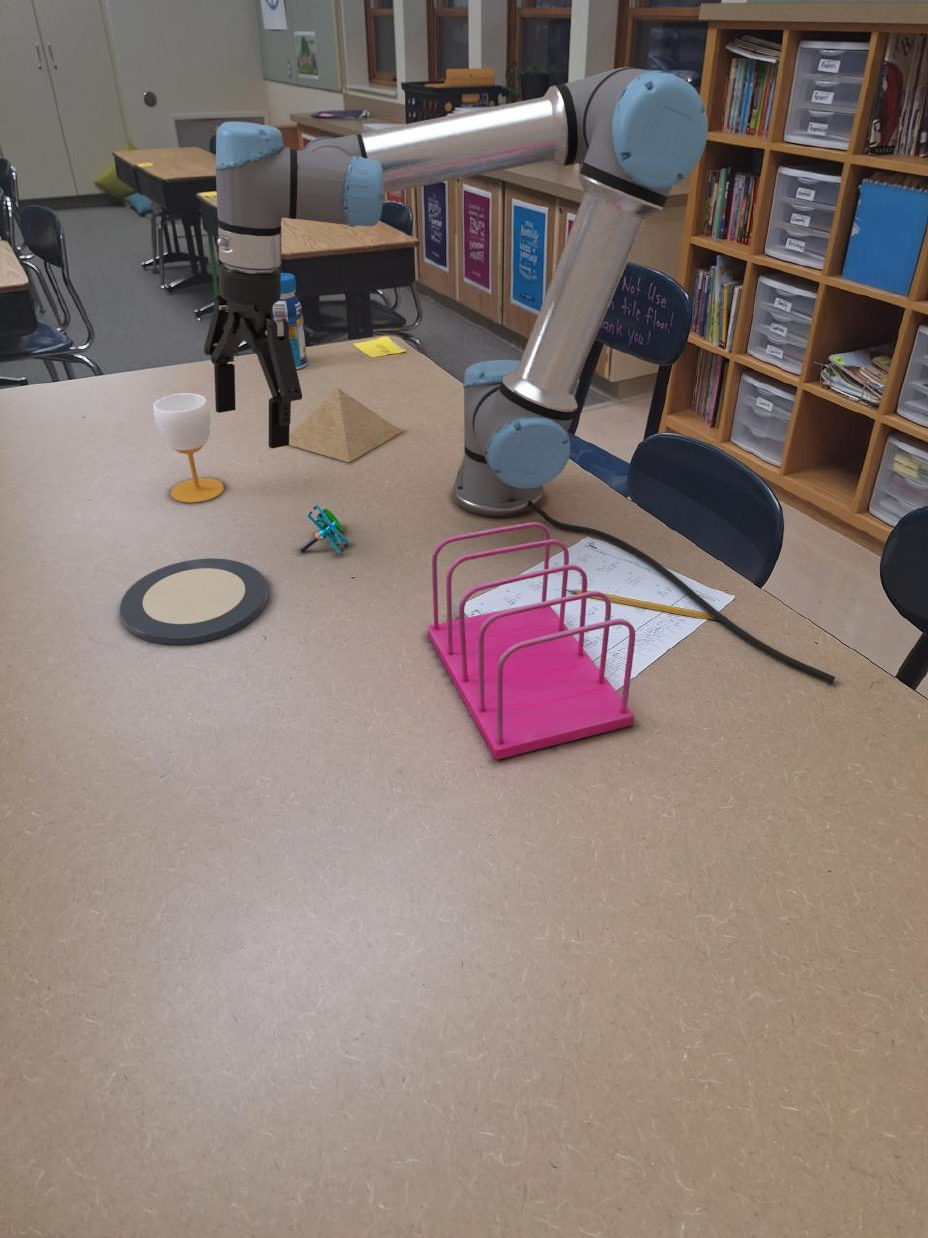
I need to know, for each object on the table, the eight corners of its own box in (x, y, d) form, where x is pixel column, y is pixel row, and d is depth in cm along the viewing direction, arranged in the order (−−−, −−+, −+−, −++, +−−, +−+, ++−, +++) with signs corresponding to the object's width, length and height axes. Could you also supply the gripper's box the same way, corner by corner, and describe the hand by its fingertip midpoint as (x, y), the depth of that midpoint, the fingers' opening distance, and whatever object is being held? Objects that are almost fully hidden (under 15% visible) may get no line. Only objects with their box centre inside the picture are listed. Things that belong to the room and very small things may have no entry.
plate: (296, 586, 125) (295, 579, 124) (199, 662, 111) (198, 654, 110) (193, 552, 133) (191, 545, 132) (90, 618, 119) (88, 611, 118)
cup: (159, 497, 148) (139, 408, 138) (192, 475, 154) (174, 389, 145) (203, 506, 145) (185, 416, 136) (234, 484, 152) (219, 396, 142)
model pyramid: (404, 430, 170) (402, 381, 165) (349, 462, 159) (344, 411, 153) (338, 413, 178) (334, 366, 172) (281, 443, 166) (274, 392, 160)
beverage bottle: (264, 366, 201) (252, 276, 190) (292, 356, 207) (281, 269, 195) (288, 374, 197) (276, 283, 185) (315, 364, 202) (306, 275, 191)
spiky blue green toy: (350, 549, 129) (317, 508, 127) (314, 577, 130) (280, 537, 128) (355, 531, 140) (324, 493, 138) (322, 556, 141) (291, 519, 139)
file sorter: (495, 762, 96) (497, 651, 87) (427, 636, 115) (423, 534, 106) (633, 726, 100) (650, 616, 91) (546, 610, 120) (552, 510, 111)
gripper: (172, 242, 111) (181, 400, 123) (280, 295, 97) (278, 467, 109) (224, 241, 116) (228, 393, 128) (334, 290, 102) (327, 456, 114)
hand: (251, 427), depth 119 cm, fingers open, 13 cm apart
